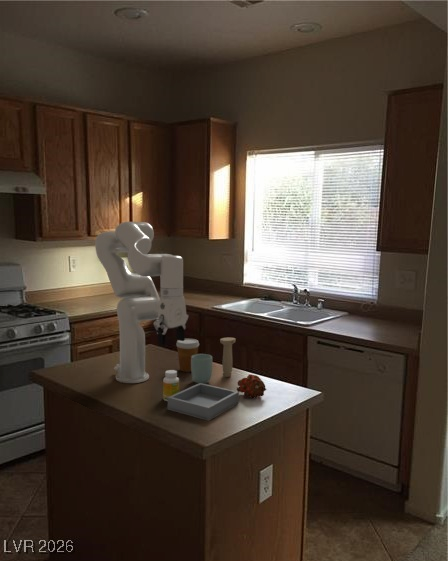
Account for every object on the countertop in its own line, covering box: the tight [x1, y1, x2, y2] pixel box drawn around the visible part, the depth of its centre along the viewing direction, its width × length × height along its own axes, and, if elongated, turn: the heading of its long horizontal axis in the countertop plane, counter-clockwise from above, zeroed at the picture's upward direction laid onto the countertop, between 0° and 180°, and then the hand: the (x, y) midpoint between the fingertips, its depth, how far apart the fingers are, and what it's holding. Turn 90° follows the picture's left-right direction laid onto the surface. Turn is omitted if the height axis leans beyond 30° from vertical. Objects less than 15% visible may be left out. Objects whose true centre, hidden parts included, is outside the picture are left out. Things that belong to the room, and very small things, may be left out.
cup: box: [191, 353, 213, 384], centre depth 189 cm, size 8×8×10 cm
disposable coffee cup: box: [176, 338, 200, 373], centre depth 204 cm, size 10×10×12 cm
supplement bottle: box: [162, 369, 180, 402], centre depth 170 cm, size 5×5×10 cm
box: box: [167, 383, 240, 421], centre depth 164 cm, size 16×18×4 cm
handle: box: [219, 337, 237, 378], centre depth 196 cm, size 5×6×15 cm
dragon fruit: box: [236, 373, 267, 400], centre depth 174 cm, size 8×8×12 cm
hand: (171, 343), depth 168 cm, fingers open, 9 cm apart
